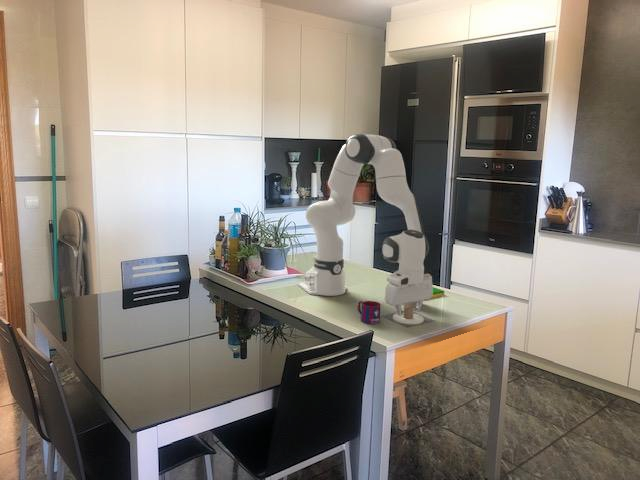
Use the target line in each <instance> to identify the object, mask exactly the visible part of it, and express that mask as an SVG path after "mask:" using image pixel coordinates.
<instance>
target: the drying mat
mask: <svg viewBox="0 0 640 480" xmlns="http://www.w3.org/2000/svg"><path fill="white" fill-rule="evenodd" d="M403 312H404V310H403ZM396 313H397V312H392V313H387V314H383V315H381V317H383V318H384V319H388V320H390V321H392V322H394V323H395V324H398V325H400V326H403V327H405V328H407V329H408V328H411V327H416V326H420V325H425V324H430V323H434V322H436V320H435V319H433V318H430V317H428V316H425V315H422V314H421V313H419V312H415V311H414V314H418V315H420V316H422V317H423V318H424V322H423V323H421V324H417V325H407V324H401V323H398V322H396V321H394V320H393V315H394V314H396Z"/></svg>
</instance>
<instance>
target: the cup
mask: <svg viewBox="0 0 640 480" xmlns="http://www.w3.org/2000/svg"><path fill="white" fill-rule="evenodd" d="M357 311H358V313H359V315H360V322H361V323H362V324H366V325H377V324H380V322H381V303H380V302H377V301H374V300H365V301H362V300H361V301H358V304H357Z"/></svg>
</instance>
